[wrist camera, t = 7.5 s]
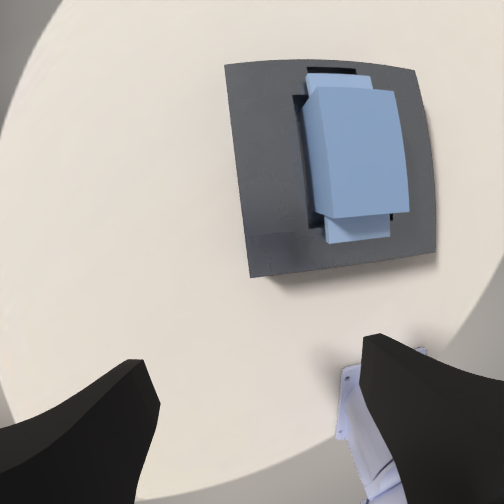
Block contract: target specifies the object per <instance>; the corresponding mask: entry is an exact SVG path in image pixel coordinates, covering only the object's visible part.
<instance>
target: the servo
mask: <svg viewBox="0 0 504 504" xmlns="http://www.w3.org/2000/svg"><path fill="white" fill-rule="evenodd" d="M305 78H306V83H307V89H308V94H309V99H308V100H307V102H306V103H305V104H304V106H303V107H302V109H301V110H300V112H299V113H298V119H299V125H300V132H301V139H302V147H303V154H304V162H305V171H306V179H307V189H308V198H309V208H310V210H311V211H314V212H317V213H320V214H323V215H324V220H325V233H326V242H327V243H329V244H332V243H340V242H348V241H357V240H365V239H373V238H382V237H390V214H389V213H401V212H409V193H408V180H407V169H406V160H405V152H404V145H403V138H402V131H401V125H400V120H399V114H398V109H397V104H396V99H395V95H394V91H388V90H378V89H373V87H372V82H371V78H370V76H363V75H350V74H328V73H307V75H306V77H305Z"/></svg>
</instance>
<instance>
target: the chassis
mask: <svg viewBox="0 0 504 504" xmlns="http://www.w3.org/2000/svg"><path fill="white" fill-rule="evenodd" d="M224 68H225V76H226V85H227V93H228V102H229V110H230V119H231V127H232V135H233V144H234V152H235V160H236V168H237V177H238V185H239V193H240V201H241V209H242V217H243V225H244V233H245V241H246V249H247V257H248V265H249V273H250V278H255V277H264V276H272V275H280V274H288V273H296V272H304V271H312V270H319V269H327V268H334V267H341V266H348V265H355V264H362V263H369V262H376V261H383V260H389V259H396V258H402V257H409V256H415V255H421V254H427V253H433V252H436V202H435V184H434V172H433V162H432V154H431V146H430V139H429V133H428V127H427V121H426V116H425V111H424V106H423V101H422V97H421V93H420V89H419V85H418V81H417V77H416V73H415V70H410V69H405V68H399V67H393V66H387V65H380V64H372V63H363V62H353V61H339V60H312V59H296V60H269V61H255V62H245V63H235V64H227V65H224ZM307 73H328V74H350V75H363V76H370V78H371V82H372V87H373V89H378V90H388V91H394V95H395V99H396V104H397V109H398V114H399V120H400V125H401V131H402V138H403V145H404V152H405V160H406V169H407V180H408V193H409V212H401V213H389V214H390V237H382V238H373V239H365V240H357V241H348V242H340V243H332V244H329V243H327V242H326V233H325V220H324V215H323V214H320V213H317V212H314V211H311V210H310V208H309V198H308V189H307V179H306V171H305V162H304V154H303V147H302V139H301V132H300V125H299V119H298V113H299V112H300V110H301V109H302V107H303V106H304V104H305V103H306V102H307V100H308V99H309V94H308V89H307V83H306V78H305V77H306V75H307Z"/></svg>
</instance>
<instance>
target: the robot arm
mask: <svg viewBox="0 0 504 504" xmlns="http://www.w3.org/2000/svg"><path fill="white" fill-rule="evenodd" d="M426 353H427V350H426V349H425V348H424V347H421V348H417V349H412V348H410V347H408V346H406V345H404V344H402V343H400V342H398V341H396V340H394V339H392V338H390V337H388V336H386V335H383V334H381V333H379V334H375V335H370V336H366V337H363V348H362V359H361V364H358V365H353V366H349V367H346V368H344V369H343V370H342V372H341V384H340V396H339V407H338V416H337V425H336V433H335V438H336V440H343V439H346V440H347V442H348V446H349V448H350V451H351V454H352V457H353V460H354V463H355V466H356V468H357V471H358V474H359V477H360V480H361V482H362V483H363V485H364V486H365V487H364V488H365V491H366V494H367V498H365V499H364V500H363V501H362V502H361V503H360V504H504V381H501V380H495V379H491V378H486V377H483V376H479V375H475V374H472V373H469V372H465V371H462V370H460V369H457V368H455V367H452V366H449V365H447V364H444V363H442V362H440V361H437V360H435V359H433V358H431V357H429V356H426ZM348 376H349V377H348ZM346 377H348V378H346ZM160 404H161V403H160V401H159V399H158V396H157V394H156V391H155V389H154V386H153V384H152V381H151V379H150V376H149V373H148V371H147V368H146V365H145V363H144V360H138V359H128V360H126V361H124V362H122V363H121V364H119V365H118V366H116V367H115V368H113V369H112V370H110V371H109V372H107V373H106V374H105V375H103V376H102V377H100V378H99V379H97V380H96V381H95V382H93V383H92V384H90V385H89V386H87V387H86V388H85V389H83V390H82V391H80V392H78V393H77V394H75V395H74V396H72V397H70V398H69V399H67V400H66V401H64V402H62V403H61V404H59V405H57V406H56V407H54V408H52V409H50V410H48V411H46V412H44V413H42V414H40V415H38V416H35V417H33V418H31V419H28V420H25V421H22V422H20V423H17V424H14V425H11V426H8V427H4V428H1V429H0V504H134V501H135V495H136V489H137V484H138V481H139V477H140V474H141V471H142V468H143V465H144V462H145V459H146V456H147V453H148V450H149V447H150V444H151V441H152V439H153V436H154V433H155V429H156V426H157V421H158V416H159V410H160Z"/></svg>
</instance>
